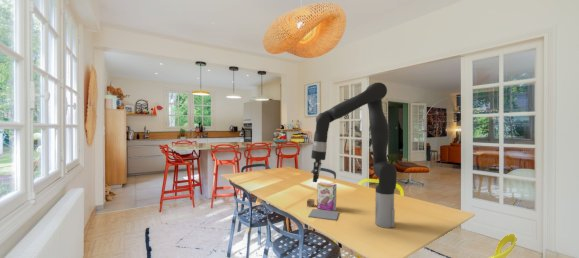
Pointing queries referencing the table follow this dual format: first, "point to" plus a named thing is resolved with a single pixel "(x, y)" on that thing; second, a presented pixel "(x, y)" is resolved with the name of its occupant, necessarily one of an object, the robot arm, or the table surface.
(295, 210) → the table surface
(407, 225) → the table surface
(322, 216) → the rubber mat
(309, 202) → the walnut block
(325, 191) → the candy bar box
